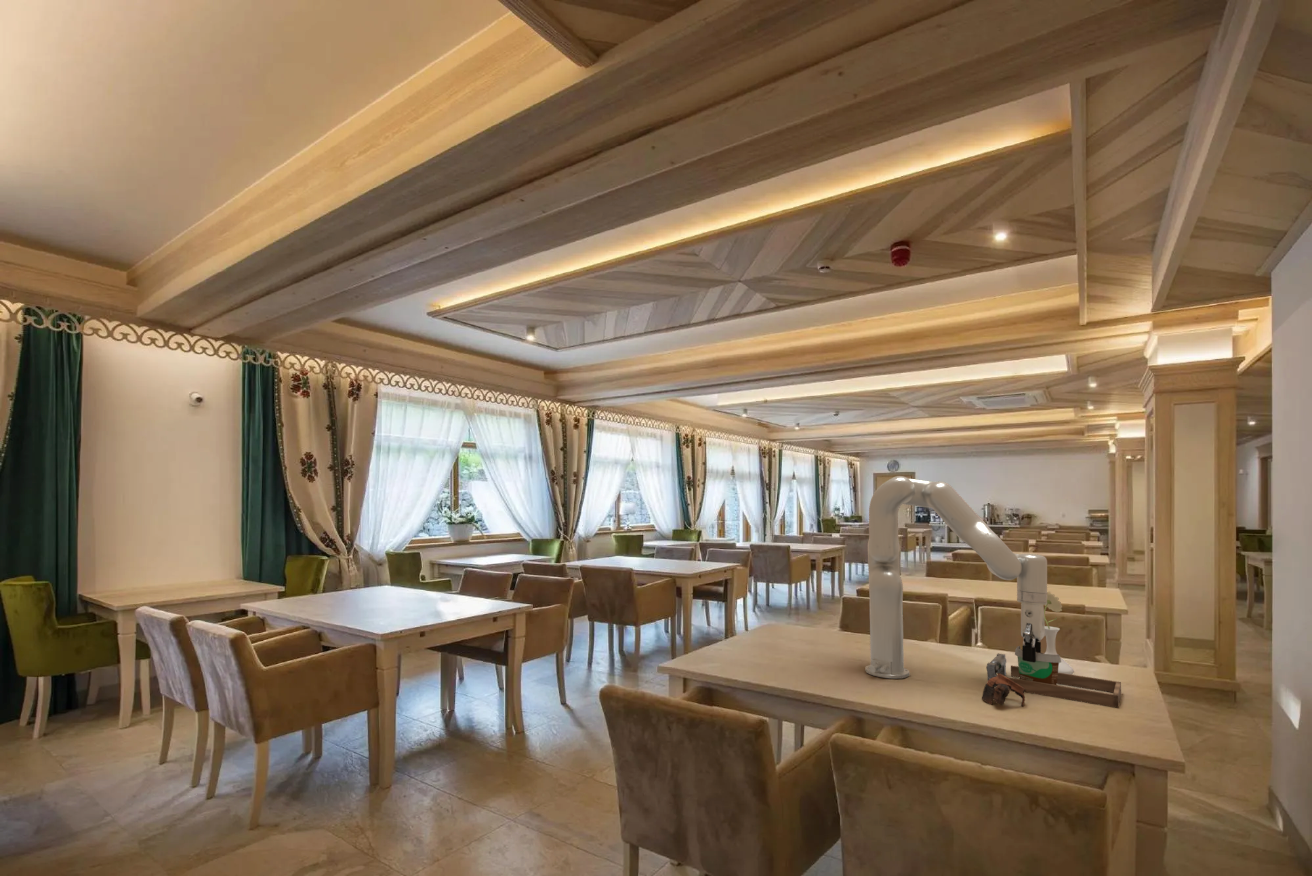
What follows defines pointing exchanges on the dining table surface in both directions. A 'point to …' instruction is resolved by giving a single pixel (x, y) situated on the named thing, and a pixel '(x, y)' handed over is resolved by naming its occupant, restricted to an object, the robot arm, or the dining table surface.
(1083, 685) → the long wooden tray
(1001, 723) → the dining table surface
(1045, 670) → the food container
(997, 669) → the grey arched handle
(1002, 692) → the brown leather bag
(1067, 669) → the flower in vase
